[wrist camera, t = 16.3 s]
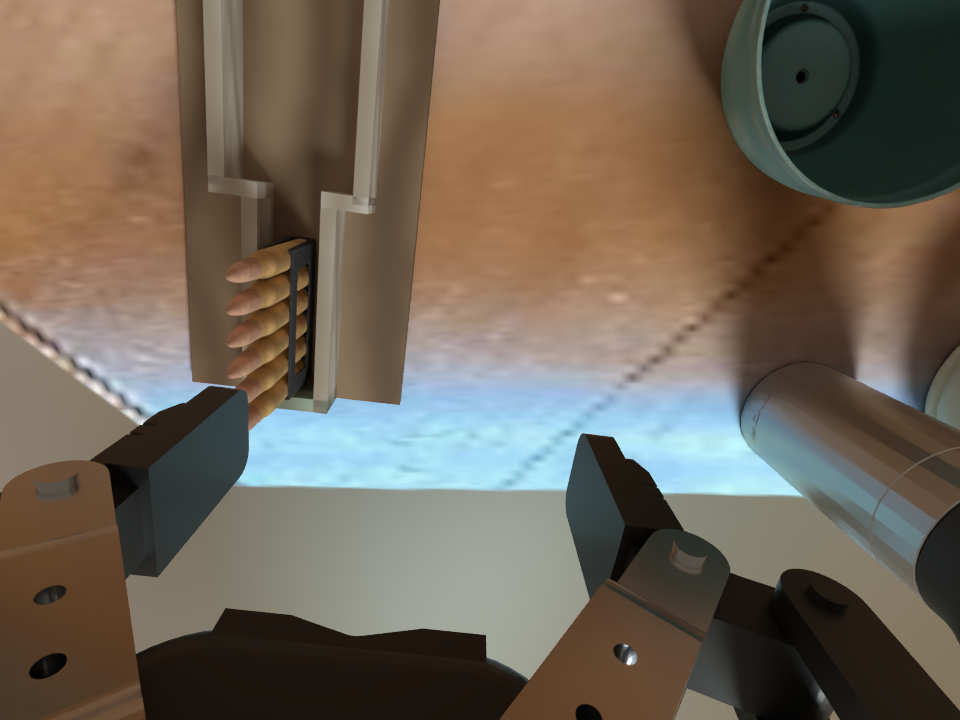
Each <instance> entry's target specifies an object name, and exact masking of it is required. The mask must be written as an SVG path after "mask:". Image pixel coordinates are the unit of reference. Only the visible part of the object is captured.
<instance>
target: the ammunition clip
mask: <svg viewBox="0 0 960 720" xmlns="http://www.w3.org/2000/svg"><path fill="white" fill-rule="evenodd" d="M315 263H316V240H315V239H313V238H305V237H298V236H291V235H290V236H288V237H285V238H283V239H280V240H278V241H275V242H273V243H270V244H268V245H265V246H263V249H262V250H258V251H256V252H254V253H252V254H251V255H250V256H249V257H247V258H244V259H243V260H240V261H238V262H236V263H234V264H233V265H232V266H231V267H230V268H229V269H228V270H227V271H226V274H225V278H226V279H227V280H228V281H231V282H235V283H244V282H249V281H252V280H257V279H261V280H258V281H256V282H254V283H252V284H251V285H250V286H249V287H248V288H247V289H245V290H244V291H243V292H241V293H239V294H237V295H236V296H235V297H233V298H232V299H231V300H230V302H229V303H228V304H227V306H226V313H227V314H229V315H233V316H239V315H245V314H248V313H251V312H252V313H251V314H250V315H249V317H248V318H247V319H246V320H244V321H243V322H242V323H241V324H239V325H238V326H237V327H236V328H235V329H234V330H233V331H232V332H231V333H230V334H229V336H228V338H227V341H226V345H227V346H228V347H231V348H236V347H242V346H245V345H247V344H249V345H248V347H247V348H246V349H245V350H244V351H243V352H242V353H241V354H239V355H238V356H237V357H236V358H235V359H234V360H233V361H232V363H231V364H230V366H229V368H228V370H227V377H228V378H231V379H234V378H240V377H242V376H245V375H247V374H248V375H247V377H246V378H245V379H244V380H243V381H242V382H241V383H240V384H239V385H238V386H237V387H236V388H235V389H239V390H244V391H245V392H246V393H247V396H248V430H249V431H250V430H251V429H252V428H253V427H254V426H255V425H256V424H257V423H259V422H260V421H261V420H262V419H263V418H264V417H266V416H268V415H269V414H271V413H272V412H273V411H274V410H275V409H276V407H277V406H278V405H279V404H280V403H281V402H282V401H283V400H284V399H285V400H290V399H291V398H292V397H293V396H294V395H295V394H296V392H297V391H298V390H299V389H300V388H301V387H302V386H303V385H304V384H305V383H306V382H307V381H308V380H309V379H310V378H311V366H312V340H313V314H314V289H315ZM253 311H254V312H253ZM287 395H288V396H287ZM286 396H287V397H286ZM285 397H286V398H285Z"/></svg>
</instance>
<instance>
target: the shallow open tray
mask: <svg viewBox="0 0 960 720" xmlns="http://www.w3.org/2000/svg"><path fill="white" fill-rule="evenodd" d="M439 4H440V0H176V12H177V35H178V58H179V81H180V104H181V128H182V151H183V174H184V197H185V220H186V243H187V266H188V289H189V312H190V335H191V359H192V381H193V382H201V383H210V384H219V385H228V386H238V385H239V384H240V383H241V382H242V381H243V380H244V379H245V378H246V377H247V375H248V374H247V375H245V376H242V377H240V378H234V379H231V378H228V377H227V370H228V368H229V366H230V364H231V363H232V361H233V360H234V359H235V358H236V357H237V356H238V355H239V354H241V353H242V352H243V351H244V350H245V349H246V348H247V347H248V345H249V344H247V345H245V346H242V347H236V348H231V347H228V346H227V345H226V341H227V338H228V336H229V334H230V333H231V332H232V331H233V330H234V329H235V328H236V327H237V326H238V325H239V324H241V323H242V322H243V321H244V320H246V319H247V318H248V317H249V315H250V314H251V313H252V312H251V313H248V314H245V315H239V316H233V315H229V314H227V313H226V306H227V304H228V303H229V302H230V300H231V299H232V298H233V297H235V296H236V295H237V294H239V293H241V292H243V291H244V290H245V289H247V288H248V287H249V286H250V285H251V284H252V283H254V282H256V281H258V280H261V279H257V280H252V281H249V282H244V283H235V282H231V281H228V280H227V279H226V278H225V274H226V271H227V270H228V269H229V268H230V267H231V266H232V265H233V264H234V263H236V262H238V261H240V260H243V259H244V258H247V257H249V256H250V255H251V254H252V253H254V252H256V251H258V250H262V249H263V246H265V245H268V244H270V243H273V242H275V241H278V240H280V239H283V238H285V237H288V236H290V235H291V236H298V237H305V238H313V239H315V240H316V263H315V289H314V314H313V340H312V366H311V378H310V379H309V380H308V381H307V382H306V383H305V384H304V385H303V386H302V387H301V388H300V389H299V390H298V391H297V392H296V394H295V395H294V396H293V397H292V398H291V399H290V400H285V399H284V400H283V401H282V402H281V403H280V404H279V405H278V406H277V407H276V408H280V409H289V410H298V411H307V412H316V413H325V414H327V412H328V411H329V409H330V407H331V406H332V404H333V402H334V401H335V399H336V398H343V399H352V400H361V401H370V402H379V403H388V404H396V405H400V401H401V392H402V382H403V372H404V362H405V351H406V341H407V331H408V321H409V310H410V300H411V290H412V280H413V270H414V259H415V249H416V239H417V229H418V219H419V208H420V198H421V188H422V178H423V168H424V157H425V147H426V137H427V127H428V116H429V106H430V96H431V86H432V76H433V65H434V55H435V45H436V35H437V25H438V14H439ZM253 312H254V311H253ZM287 396H288V395H287ZM287 396H286V397H287ZM286 397H285V398H286Z"/></svg>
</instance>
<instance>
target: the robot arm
mask: <svg viewBox="0 0 960 720" xmlns="http://www.w3.org/2000/svg"><path fill="white" fill-rule="evenodd" d="M741 430H742V434H743V437H744V439H745V441H746V443H747V445H748V446H749V447H750V448H751V449H752V450H753V451H754V452H755V453H756V454H757V455H758V456H759V457H760V458H761V459H763V460H764V461H765V462H766V463H767V464H768V465H769V466H770V467H772V468H773V469H774V470H775V471H776V472H777V473H778V474H779V475H780V476H781V477H782V478H784V479H785V480H786V481H787V482H788V483H789V484H790V485H791V486H793V487H794V488H795V489H796V490H797V491H798V492H799V493H801V494H802V495H803V496H804V497H805V498H806V499H807V500H808V501H810V502H811V503H812V504H813V505H814V506H815V507H816V508H817V509H819V510H820V511H821V512H822V513H823V514H824V515H825V516H827V517H828V518H829V519H830V520H831V521H832V522H833V523H834V524H835V525H837V526H838V527H839V528H840V529H841V530H842V531H843V532H845V533H846V534H847V535H848V536H849V537H850V538H851V539H852V540H854V541H855V542H856V543H857V544H858V545H859V546H860V547H861V548H863V549H864V550H865V551H866V552H867V553H868V554H869V555H871V556H872V557H873V558H874V559H875V560H876V561H877V562H878V563H880V564H881V565H882V566H883V567H884V568H886V569H887V570H888V571H889V572H890V573H891V574H892V575H893V576H894V577H896V578H897V579H898V580H899V581H900V582H902V584H903V585H905V586H906V587H907V588H908V589H909V590H910V591H911V592H913V593H914V594H915V595H916V596H917V597H918V598H919V599H920V600H922V601H923V602H924V603H925V604H926V605H928V607H930V609H932V610H933V611H934V612H935V613H936V614H937V615H938V616H939V617H940V618H942V619H943V620H944V621H945V622H946V623H947V624H948V625H949V627H950V628H951V630H952V631H953V633H954V634H955V636H956V638H957V640H958V642H959V644H960V430H959V429H957V428H954V427H952V426H950V425H948V424H946V423H944V422H942V421H940V420H938V419H936V418H934V417H931V416H929V415H927V414H925V413H923V412H921V411H919V410H917V409H915V408H913V407H911V406H909V405H906V404H904V403H902V402H900V401H898V400H896V399H894V398H892V397H890V396H888V395H886V394H883V393H881V392H879V391H877V390H875V389H873V388H871V387H869V386H867V385H865V384H863V383H861V382H859V381H857V380H855V379H853V378H850V377H848V376H846V375H844V374H842V373H840V372H838V371H836V370H834V369H832V368H829V367H827V366H824V365H822V364H818V363H810V362H805V363H795V364H792V365H788V366H785V367H783V368H780V369H778V370H776V371H774V372H773V373H771V374H770V375H768V376H767V377H765V378H764V379H763V380H762V381H761V382H760V383H759V384H758V385H757V386H756V387H755V388H754V389H753V391H752V392H751V394H750V395H749V397H748V398H747V401H746V403H745V405H744V407H743V411H742V416H741ZM248 452H249V430H248V396H247V393H246V392H245V391H244V390H239V389H231V388H223V387H215V386H209V387H207V388H206V389H204V390H203V391H202V392H200V393H199V394H198V395H196V396H195V397H194V398H192V399H191V400H190V401H188V402H187V403H181V404H178V405H176V406H173V407H170V408H168V409H165V410H162V411H159V412H158V413H157V414H155V415H154V416H152V417H151V418H149V419H148V420H147V421H145V422H144V423H143V425H140V426H138V427H137V428H135V429H134V430H132V431H131V432H130V435H125V436H124V437H122V438H121V439H120V440H118V441H117V442H116V443H114V444H113V445H111V446H110V447H108V448H107V449H105V450H104V451H103V452H101V453H100V454H98V455H97V456H95V457H94V458H93V459H91V460H90V461H84V460H74V461H63V462H57V463H51V464H47V465H43V466H40V467H37V468H34V469H31V470H29V471H26V472H24V473H22V474H20V475H18V476H17V477H15V478H14V479H12V480H11V481H10V482H8V483H7V484H6V485H5V487H4V488H3V491H2V492H0V720H675V717H676V715H677V712H678V709H679V707H680V704H681V702H682V699H683V696H684V694H685V691H686V689H687V688H688V689H691V690H693V691H696V692H698V693H701V694H703V695H706V696H708V697H711V698H713V699H716V700H718V701H721V702H723V703H726V704H728V705H731V706H733V707H734V709H735V712H736V714H737V717H738V719H739V720H830V719H829V718H830V716H831V714H832V712H833V710H834V711H835V712H836V714H837V716H838V717H839V719H840V720H960V711H959V709H958V708H957V707H956V706H955V705H954V704H953V703H952V701H951V700H950V699H949V698H948V697H947V696H946V695H945V693H944V692H943V691H942V690H941V689H940V688H939V687H938V685H936V683H935V682H934V681H933V680H932V679H931V677H930V676H929V675H928V674H927V673H926V672H925V671H924V669H923V668H922V667H921V666H920V665H919V664H918V662H917V661H916V660H915V659H914V658H913V657H912V656H911V655H910V653H909V652H908V651H907V650H906V649H905V648H904V646H903V645H902V644H901V643H900V642H899V641H898V640H897V638H896V637H895V636H894V635H893V634H892V633H891V632H890V631H889V629H888V628H887V627H886V626H885V625H884V624H883V623H882V621H881V620H880V619H879V618H878V617H877V615H876V614H875V613H874V612H873V611H872V610H871V609H870V607H869V606H868V605H867V604H866V603H865V602H864V601H863V600H862V599H861V598H860V597H859V596H857V595H856V594H855V593H853V592H852V591H851V590H849V589H848V588H847V587H845V586H843V585H842V584H840V583H838V582H837V581H835V580H833V579H831V578H829V577H826V576H824V575H821V574H819V573H816V572H813V571H809V570H804V569H789V570H786V571H785V572H783V573H782V574H781V576H780V579H779V581H778V584H777V586H776V588H773V587H771V586H768V585H765V584H761V583H758V582H755V581H752V580H749V579H746V578H743V577H740V576H738V575H735V574H732V573H730V566H729V563H728V561H727V560H726V558H725V557H724V555H722V553H721V552H720V551H719V550H718V549H717V548H716V547H714V546H713V545H712V544H710V543H709V542H707V541H706V540H704V539H702V538H700V537H698V536H696V535H694V534H691V533H688V532H685V531H684V530H683V528H682V526H681V525H680V523H679V521H678V520H677V518H676V517H675V515H674V513H673V511H672V510H671V508H670V507H669V505H668V503H667V502H666V500H664V497H663V495H662V493H661V492H660V490H659V488H657V485H656V483H655V482H654V480H653V478H652V477H651V475H650V474H649V472H648V471H647V470H645V469H644V468H643V467H642V466H640V465H639V464H638V463H637V462H636V461H634V460H632V459H625V457H624V455H623V453H622V452H621V450H620V448H619V446H618V444H617V442H616V441H615V439H614V438H613V437H608V436H600V435H592V434H584V433H583V434H581V436H580V438H579V440H578V444H577V448H576V452H575V457H574V461H573V465H572V470H571V474H570V478H569V483H568V487H567V493H566V514H567V518H568V522H569V525H570V529H571V533H572V536H573V540H574V544H575V547H576V551H577V554H578V558H579V561H580V565H581V569H582V572H583V576H584V580H585V583H586V587H587V590H588V594H589V598H590V601H589V602H588V603H587V605H586V606H585V608H584V609H583V610H582V611H581V613H580V614H579V615H578V617H577V618H576V619H575V621H574V622H573V623H572V625H571V626H570V627H569V628H568V630H567V631H566V632H565V634H564V635H563V637H562V638H561V639H560V640H559V642H558V643H557V644H556V646H555V647H554V648H553V650H552V651H551V652H550V654H549V655H548V656H547V658H546V659H545V660H544V661H543V663H542V664H541V665H540V667H539V668H538V669H537V671H536V672H535V673H534V675H533V676H532V677H531V679H530V680H528V679H527V678H525V677H524V676H522V675H521V674H519V673H517V672H516V671H514V670H513V669H511V668H510V667H508V666H505V665H503V664H501V663H499V662H497V661H495V660H492V659H489V658H487V657H486V635H479V634H470V633H460V632H450V631H441V630H430V629H417V630H408V631H400V632H391V633H383V634H374V635H366V636H350V635H346V634H343V633H341V632H338V631H335V630H332V629H329V628H326V627H323V626H320V625H318V624H315V623H312V622H309V621H306V620H303V619H301V618H298V617H295V616H292V615H285V614H276V613H266V612H256V611H246V610H236V609H227V608H225V610H224V612H223V614H222V615H221V617H220V619H219V620H218V622H217V624H216V625H215V627H214V629H213V630H211V631H203V632H198V633H194V634H189V635H185V636H181V637H178V638H175V639H171V640H168V641H165V642H163V643H160V644H158V645H155V646H152V647H150V648H148V649H146V650H144V651H141V652H139V653H137V654H136V652H135V645H134V638H133V631H132V624H131V618H130V610H129V602H128V595H127V589H126V581H125V580H126V579H127V577H128V576H129V575H130V574H132V575H142V576H152V577H158V576H159V575H160V574H161V572H162V571H163V570H164V569H165V568H166V566H167V565H168V564H169V563H170V561H171V560H172V559H173V558H174V557H175V555H176V554H177V553H178V552H179V551H180V549H181V548H182V547H183V546H184V544H185V543H186V542H187V541H188V540H189V538H190V537H191V536H192V535H193V533H194V532H195V531H196V530H197V529H198V527H199V526H200V525H201V524H202V522H203V521H204V520H205V519H206V517H207V516H208V515H209V514H210V513H211V512H212V510H213V509H214V508H215V507H216V505H217V504H218V503H219V502H220V500H221V499H222V498H223V497H224V496H225V494H226V493H227V492H228V491H229V489H230V488H231V487H232V486H233V485H234V483H235V482H236V481H237V480H238V479H239V477H240V476H241V475H242V473H243V471H244V469H245V466H246V463H247V459H248Z"/></svg>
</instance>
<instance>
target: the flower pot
mask: <svg viewBox="0 0 960 720" xmlns="http://www.w3.org/2000/svg"><path fill="white" fill-rule="evenodd" d="M801 6H805V8H806V9H805V11H804V12H802V11H801ZM801 71H802V72H804V73H805V75H806V77H805V80H804V81H803V82H802V83H797V81H796V75H797V74H798V73H799V72H801ZM721 99H722V106H723V111H724V115H725V119H726V122H727V125H728V128H729V130H730V132H731V135H732V136H733V138H734V140H735V142H736V144H737V145H738V147H739V148H740V149H741V151H742V152H743V154H744V155H745V156H746V157H747V158H748V159H749V160H750V161H751V162H752V163H753V164H754V165H755V166H756V167H757V168H758V169H759V170H761V171H762V172H763V173H765V174H766V175H767V176H769V177H770V178H772V179H774V180H775V181H777V182H779V183H781V184H783V185H785V186H787V187H789V188H792V189H794V190H797V191H800V192H802V193H806V194H809V195H813V196H817V197H821V198H826V199H829V200H831V201H834V202H838V203H842V204H847V205H852V206H859V207H866V208H896V207H903V206H909V205H913V204H917V203H921V202H925V201H928V200H932V199H934V198H937V197H939V196H942V195H945V194H947V193H950V192H952V191H954V190H956V189H958V188H960V0H743V1H742V3H741V5H740V8H739V10H738V12H737V14H736V17H735V19H734V22H733V24H732V27H731V30H730V33H729V36H728V40H727V43H726V47H725V51H724V56H723V62H722V70H721ZM835 111H836V112H837V113H838V114H837V117H836V118H834V115H833V114H834V112H835Z"/></svg>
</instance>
